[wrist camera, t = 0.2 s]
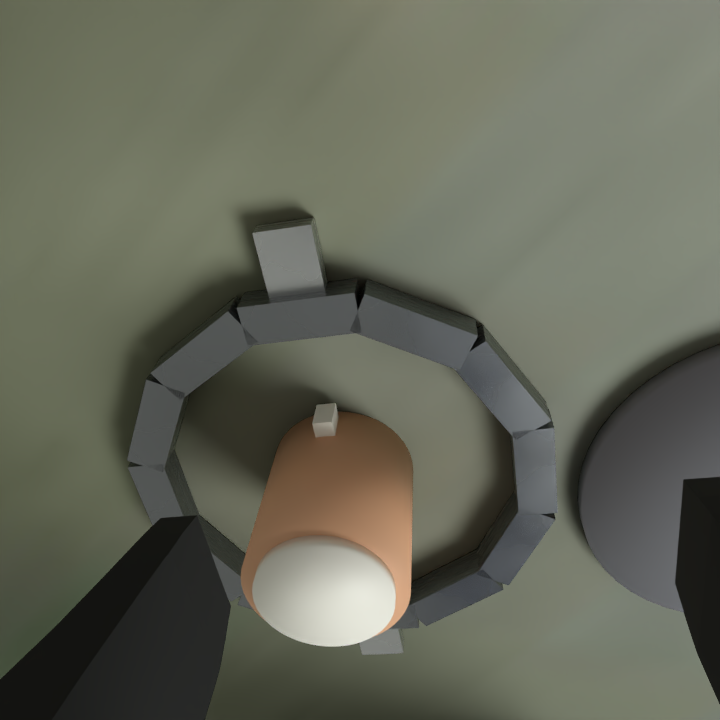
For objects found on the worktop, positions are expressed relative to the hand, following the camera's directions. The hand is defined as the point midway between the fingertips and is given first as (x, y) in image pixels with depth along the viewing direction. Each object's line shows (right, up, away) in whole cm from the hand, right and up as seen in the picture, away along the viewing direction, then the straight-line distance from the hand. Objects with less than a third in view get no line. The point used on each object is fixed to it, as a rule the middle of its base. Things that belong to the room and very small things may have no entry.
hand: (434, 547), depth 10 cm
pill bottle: (-2, -1, +12) cm, 12 cm away
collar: (-2, -1, +12) cm, 12 cm away
